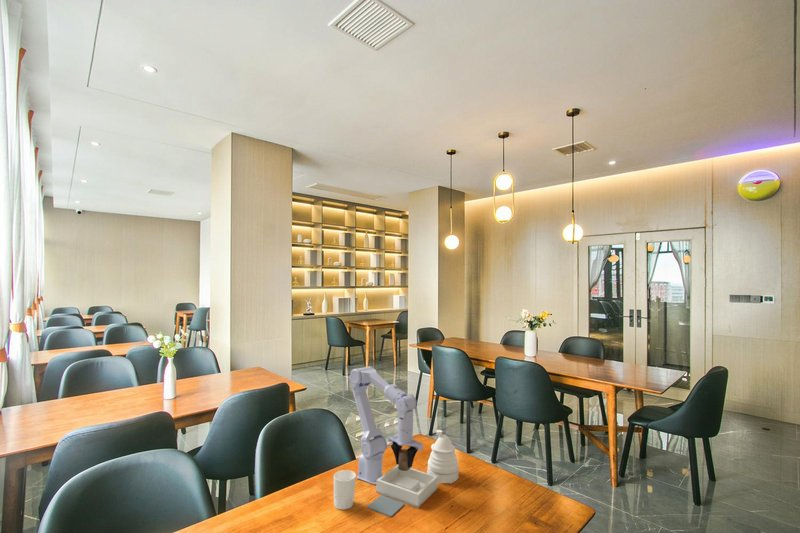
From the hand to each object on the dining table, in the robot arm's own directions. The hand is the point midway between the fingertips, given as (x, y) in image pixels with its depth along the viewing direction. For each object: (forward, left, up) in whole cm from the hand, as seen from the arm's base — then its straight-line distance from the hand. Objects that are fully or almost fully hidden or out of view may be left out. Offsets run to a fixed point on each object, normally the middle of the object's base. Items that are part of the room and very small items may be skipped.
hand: (404, 464), depth 142 cm
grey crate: (0, +3, -10) cm, 11 cm away
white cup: (-14, -18, -11) cm, 25 cm away
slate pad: (-1, -11, -10) cm, 15 cm away
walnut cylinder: (0, 0, -1) cm, 1 cm away
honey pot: (+7, +21, -11) cm, 25 cm away
